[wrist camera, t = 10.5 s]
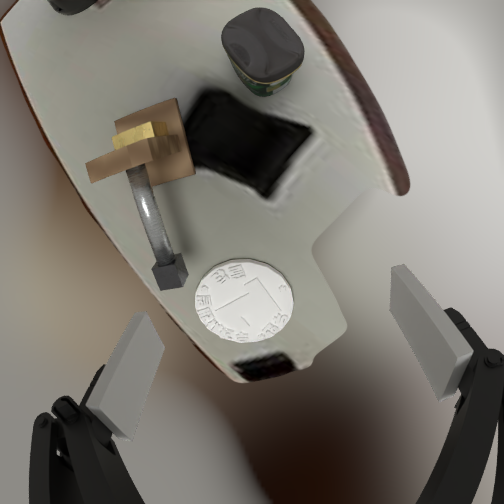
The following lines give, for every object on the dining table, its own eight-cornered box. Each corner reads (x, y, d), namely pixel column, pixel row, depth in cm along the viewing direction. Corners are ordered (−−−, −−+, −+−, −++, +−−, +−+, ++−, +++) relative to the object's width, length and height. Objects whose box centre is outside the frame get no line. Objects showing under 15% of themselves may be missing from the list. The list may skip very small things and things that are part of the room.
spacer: (130, 134, 43) (111, 137, 36) (165, 121, 42) (150, 121, 36) (133, 147, 44) (115, 151, 37) (169, 135, 43) (154, 136, 37)
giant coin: (298, 327, 61) (299, 336, 58) (213, 341, 63) (212, 349, 60) (282, 247, 53) (283, 254, 50) (184, 267, 55) (180, 274, 52)
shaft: (126, 159, 38) (114, 162, 35) (149, 150, 38) (138, 153, 34) (167, 278, 47) (160, 290, 43) (188, 274, 46) (182, 286, 43)
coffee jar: (225, 62, 39) (205, 26, 22) (264, 39, 37) (266, -8, 20) (258, 105, 42) (258, 89, 25) (297, 81, 40) (320, 53, 23)
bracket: (117, 121, 43) (69, 123, 29) (176, 98, 41) (142, 87, 28) (136, 190, 48) (95, 215, 35) (195, 173, 47) (170, 192, 33)
